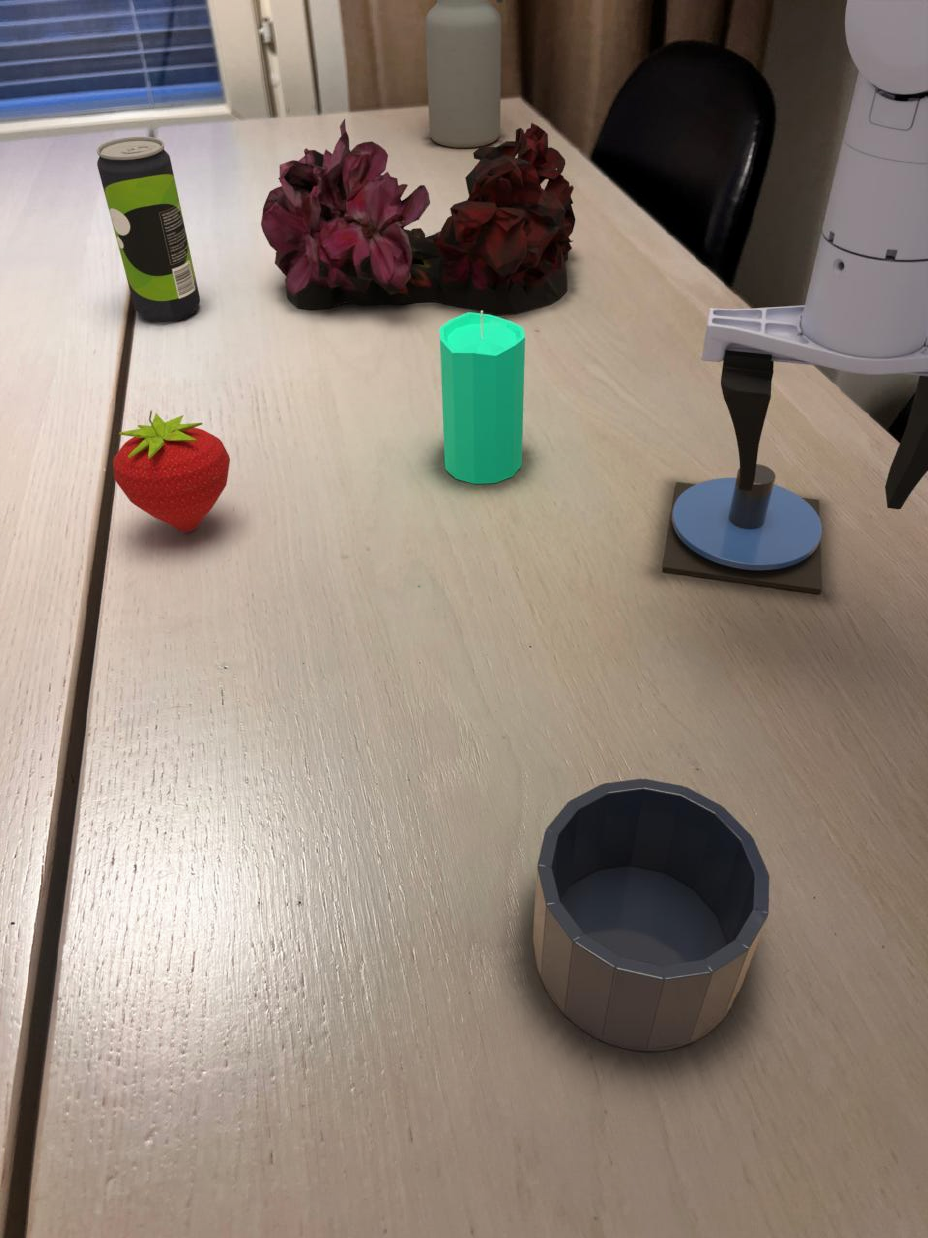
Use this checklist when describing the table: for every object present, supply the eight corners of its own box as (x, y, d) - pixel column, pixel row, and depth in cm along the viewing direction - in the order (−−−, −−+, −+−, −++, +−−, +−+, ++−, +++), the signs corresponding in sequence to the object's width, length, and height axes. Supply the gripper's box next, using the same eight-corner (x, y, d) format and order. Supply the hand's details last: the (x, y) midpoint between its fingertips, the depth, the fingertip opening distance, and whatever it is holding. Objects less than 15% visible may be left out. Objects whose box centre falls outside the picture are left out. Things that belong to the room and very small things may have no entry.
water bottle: (499, 126, 136) (501, -122, 117) (506, 147, 128) (509, -113, 109) (428, 129, 135) (418, -120, 116) (431, 150, 128) (421, -111, 109)
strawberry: (245, 548, 65) (217, 420, 58) (132, 564, 64) (90, 436, 57) (242, 499, 69) (215, 374, 62) (136, 513, 68) (97, 388, 61)
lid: (817, 499, 67) (833, 442, 64) (819, 587, 60) (838, 528, 57) (677, 482, 69) (686, 425, 66) (663, 565, 62) (673, 507, 59)
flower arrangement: (555, 236, 105) (563, 85, 95) (602, 314, 91) (616, 145, 80) (271, 258, 102) (247, 104, 92) (271, 342, 87) (243, 170, 77)
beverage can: (195, 292, 96) (160, 131, 86) (207, 317, 92) (172, 151, 81) (132, 304, 94) (89, 140, 84) (141, 330, 90) (97, 161, 80)
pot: (744, 883, 45) (771, 801, 41) (735, 1076, 39) (767, 1003, 34) (553, 844, 47) (560, 762, 43) (515, 1022, 41) (518, 947, 36)
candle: (433, 448, 74) (427, 299, 66) (506, 434, 75) (508, 287, 67) (456, 490, 70) (452, 336, 61) (533, 475, 71) (539, 322, 63)
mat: (817, 504, 68) (819, 499, 67) (820, 594, 60) (821, 589, 60) (675, 486, 70) (676, 481, 69) (661, 571, 62) (662, 566, 62)
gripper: (1048, 216, 44) (952, 465, 53) (727, 195, 47) (689, 435, 56) (1080, 277, 39) (968, 541, 48) (718, 250, 42) (678, 503, 51)
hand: (818, 489), depth 52 cm, fingers open, 7 cm apart
